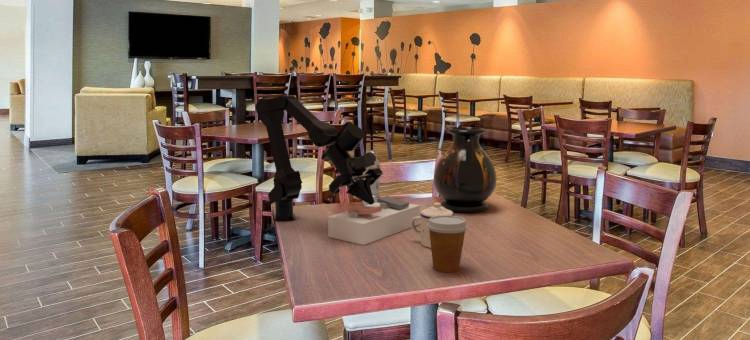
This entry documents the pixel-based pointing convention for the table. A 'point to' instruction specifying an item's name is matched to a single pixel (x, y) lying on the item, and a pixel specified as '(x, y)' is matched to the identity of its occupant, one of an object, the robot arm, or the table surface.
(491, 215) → the table surface
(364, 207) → the red rocker
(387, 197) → the charcoal rocker
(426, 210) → the teacup with lid
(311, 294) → the table surface
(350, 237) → the block
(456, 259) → the disposable coffee cup
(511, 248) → the table surface
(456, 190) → the amphora vase
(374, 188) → the plastic bottle
